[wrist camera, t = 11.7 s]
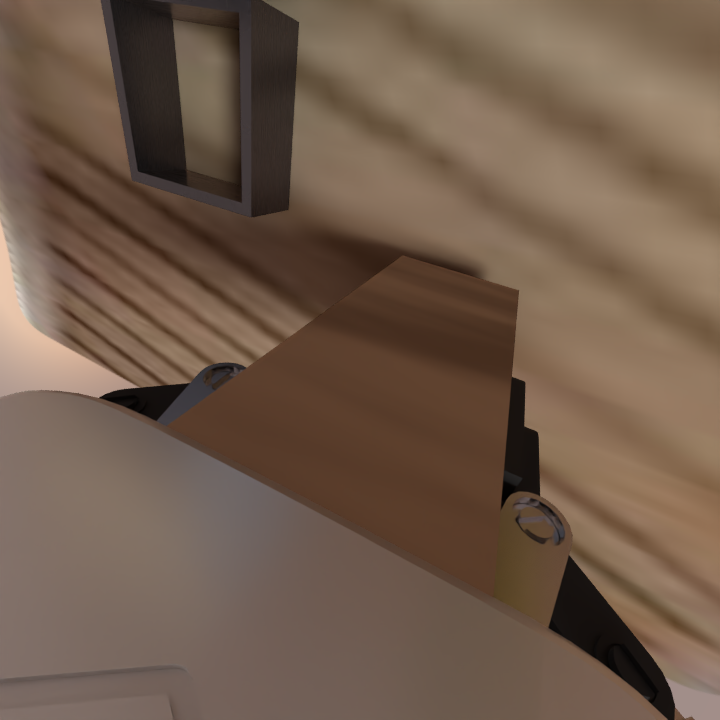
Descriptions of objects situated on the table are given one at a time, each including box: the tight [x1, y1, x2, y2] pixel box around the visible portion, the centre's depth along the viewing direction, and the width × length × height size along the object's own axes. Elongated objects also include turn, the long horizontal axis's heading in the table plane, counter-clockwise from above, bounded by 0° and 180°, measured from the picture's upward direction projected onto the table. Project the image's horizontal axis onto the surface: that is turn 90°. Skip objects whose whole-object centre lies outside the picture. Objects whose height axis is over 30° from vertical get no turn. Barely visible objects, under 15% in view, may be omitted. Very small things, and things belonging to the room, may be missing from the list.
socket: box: [101, 0, 299, 217], centre depth 16 cm, size 7×7×3 cm
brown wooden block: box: [167, 256, 519, 597], centre depth 9 cm, size 5×5×16 cm
